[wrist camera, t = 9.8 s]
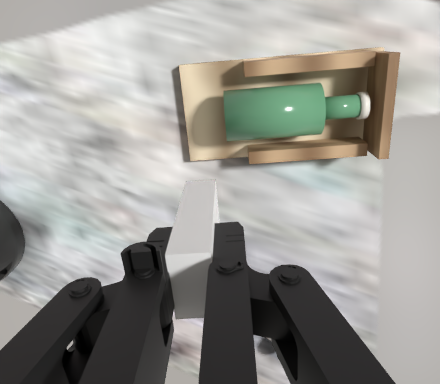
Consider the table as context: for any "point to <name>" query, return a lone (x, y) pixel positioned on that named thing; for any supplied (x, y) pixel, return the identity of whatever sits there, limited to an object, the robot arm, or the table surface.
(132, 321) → the robot arm
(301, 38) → the table surface
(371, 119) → the cradle
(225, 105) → the bottle
